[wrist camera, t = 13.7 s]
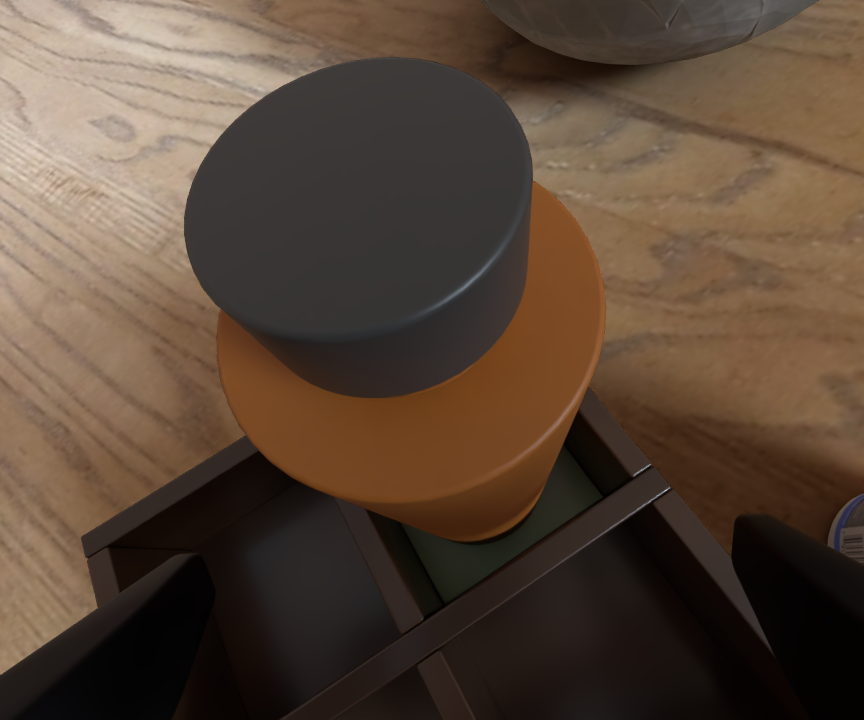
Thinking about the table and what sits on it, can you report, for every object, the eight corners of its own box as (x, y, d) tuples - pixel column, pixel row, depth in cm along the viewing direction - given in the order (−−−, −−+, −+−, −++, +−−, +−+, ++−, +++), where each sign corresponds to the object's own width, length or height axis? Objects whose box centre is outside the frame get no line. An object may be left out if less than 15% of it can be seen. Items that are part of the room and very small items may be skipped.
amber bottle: (540, 553, 15) (685, 503, 3) (395, 536, 16) (-20, 437, 4) (544, 410, 17) (641, -31, 4) (414, 402, 18) (181, 13, 5)
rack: (802, 727, 13) (935, 802, 9) (351, 1071, 12) (267, 1339, 8) (501, 340, 19) (499, 278, 15) (179, 543, 18) (79, 536, 14)
